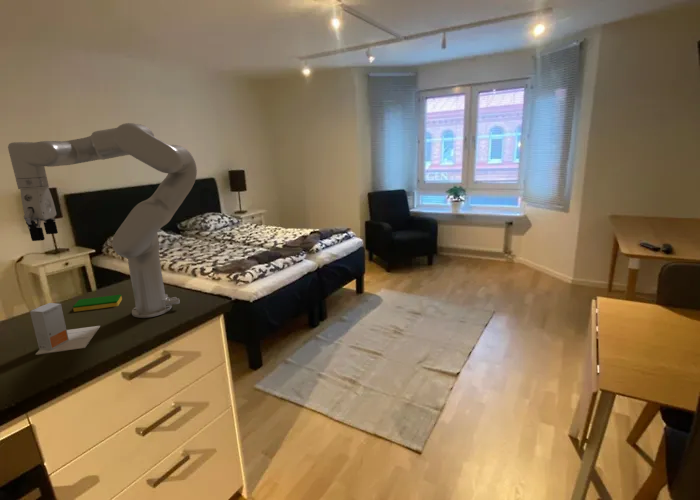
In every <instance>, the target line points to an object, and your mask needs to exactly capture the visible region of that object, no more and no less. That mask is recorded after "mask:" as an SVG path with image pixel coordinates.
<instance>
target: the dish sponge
mask: <svg viewBox="0 0 700 500" xmlns="http://www.w3.org/2000/svg"><path fill="white" fill-rule="evenodd" d="M122 296H123V295H122V294H116V295H115V294H114V295H105V296H97V297H91V298H90V297H89V298H81V299H78V300H77V301H76V302H75V304H74V305H73V306H72V310H73V312H74V313H75V312H83V311H92V310H99V309H106V308H113V307H119V305H120V303H121V302H122V300H123V297H122Z"/></svg>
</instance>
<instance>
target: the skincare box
mask: <svg viewBox="0 0 700 500" xmlns="http://www.w3.org/2000/svg"><path fill="white" fill-rule="evenodd" d="M29 313H30V318H31V322H32V325H33V330H34V335H35V338H36V342H37V345H38V350H40V349H44V350H52V349H54V348H55V347H57V346H59V345H61V344H63V343H65V342H67V341H69V338H68V334H67V330H68V329H67V326H66V320H65V317H64V312H63V308H62V303H54V302H53V303H52V302H48V303H46V304H43V305H41V306H38V307H37V308H35V309H32V310H30V311H29Z"/></svg>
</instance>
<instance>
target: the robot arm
mask: <svg viewBox="0 0 700 500" xmlns="http://www.w3.org/2000/svg"><path fill="white" fill-rule="evenodd" d="M7 151H8V154H9V157H10V162H11V165H12V169H13V174H14V178H15V182H16V185H17V190H20V197H21V205H22V209H23V213H24V214H23V219H24V220H25V224H26V225H27V228H28V230H29V234H30V235H29V236H30V239H31V241H32V242H40V241H45V234H46V235H54V234H58V231H59V230H58V227H57V222H56V216H57V211H56V206H55V202H54V199H53V197H52V193H51V190H50V186H49V185H50V184H49V182H48V176H47V173H46V168H45V167H47V168H53V167H60V166H61V167H62V166H71V165H77V164H82V163H83V164H84V163H88V162H93V161H94V162H95V161H99V160H103V161H104V160H109V159H114V158H118V157H119V158H120V157H124V156H131V157H133V158H134V159H136V160H138V161H140V162H142V163H144V164H145V165H146V166H147V165H148V166H149V167H151V168H153V169H154V170H156V171H158V172H161V173H164V174H167V175H166V177H165V178H164V179H162V181H161V182H160V184H159V185H158V187H157V188H156V190H155V191H154V193H153V194H152V195H151V196H150V197H149V198H147V199H145V200H142V201H141V202H139V203H137V204H136V205H135V206H133V208H132V209H131V211H130V212H129V213H128V214H127V216H126V218H125V219H124V221H123V222H122V223H121V224H120V226H119V227H118V229H117V230H116V232H115V234H114V235H113V237H112V242H111V243H112V245H111V246H112V249H113V250H114V252H115V253H116V254H117V255H118V256H120V257H122V258H125V259H127V262H128V269H129V270H128V271H129V276H130V281H131V286H132V291H133V297H134V304H135V307H133V308H132V310H131V315H132V316H133V317H135V318H141V319H146V318H147V319H149V318H153V317H158V316H160V315H164V314H166V313H168V312H169V311H171V310H172V308H173V305H180V298H179V297H178V298H177V296H174V297H170V296H168V293H166V291H165V286H164V280H163V279H164V278H163V273H162V265H161V264H162V263H161V258H160V245H159V243H160V242H159V241H160V240H159V234H158V233H159V231H160V229H162V228H163V227H164V226H166V225H167V224H168V223H169V222H170V221H171V220H172V218H173V216H175V214H176V212H177V211H178V209H179V208H180V206H181V205H182V204H183V203H184V201H185V199H186V197H187V196H188V195H189V193H190V192H191V190H192V189H193V186H194V184H195V182H196V180H197V174H198V173H197V172H198V169H197V164H196V160H195V159H194V157H193V155H192V154H191V152H190V151H189V150H188V149H187V148H186V147H184V146H181V145H177V144H167V142H164V141H162V140H161V139H159V138H157V137H155V135H154V133H153V131H152V129H150V128H149V127H148V126H146V125H144V124H139V123H134V122H133V123H132V122H127V123H122V124H120V125H118V126H117V127H113V128H107V129H100V130H96V131H92V133H91V135H89V136H86V137H81V138H80V137H79V138H76V139H70V140H62V141H61V140H42V141H41V140H40V141H35V142H33V141H31V142H30V141H18V142H16V141H15V142H13V141H12V142H10V143H9V144H8V146H7ZM42 221H44V222H43V227H44V230H43V227H41V223H42ZM44 231H45V234H44Z"/></svg>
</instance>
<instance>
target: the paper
mask: <svg viewBox="0 0 700 500" xmlns="http://www.w3.org/2000/svg"><path fill="white" fill-rule="evenodd" d="M100 328H101V325H96V326H95V325H94V326H87V327H80V328H72V329H67V334H68V338H69V341H67V342H65V343H63V344H61V345H59V346H57V347H55V348H54V349H52V350H44V349H38V350H37V352H36V353H35V356H36V355H37V356H38V355H45V354H51V353H57V352H65V351H70V350H71V351H72V350H77V349H80V350H81V349H85V348H86V347H87V346H88V345H89V343H90V341H91V340H92V338H93V337H94V336H95V335H96V333H97V332H98V330H99V329H100Z"/></svg>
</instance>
